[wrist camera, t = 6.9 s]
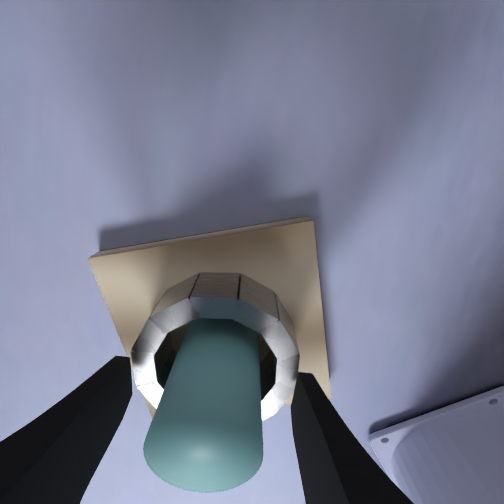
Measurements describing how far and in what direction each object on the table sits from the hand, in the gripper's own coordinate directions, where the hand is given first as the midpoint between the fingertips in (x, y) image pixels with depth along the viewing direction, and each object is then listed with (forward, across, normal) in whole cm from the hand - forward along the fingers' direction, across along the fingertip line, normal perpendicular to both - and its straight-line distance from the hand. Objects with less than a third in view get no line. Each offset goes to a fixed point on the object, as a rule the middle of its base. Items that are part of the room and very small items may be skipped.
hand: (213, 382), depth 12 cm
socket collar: (+4, 0, 0) cm, 4 cm away
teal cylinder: (+3, 0, 0) cm, 3 cm away
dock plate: (+4, 0, 0) cm, 4 cm away
